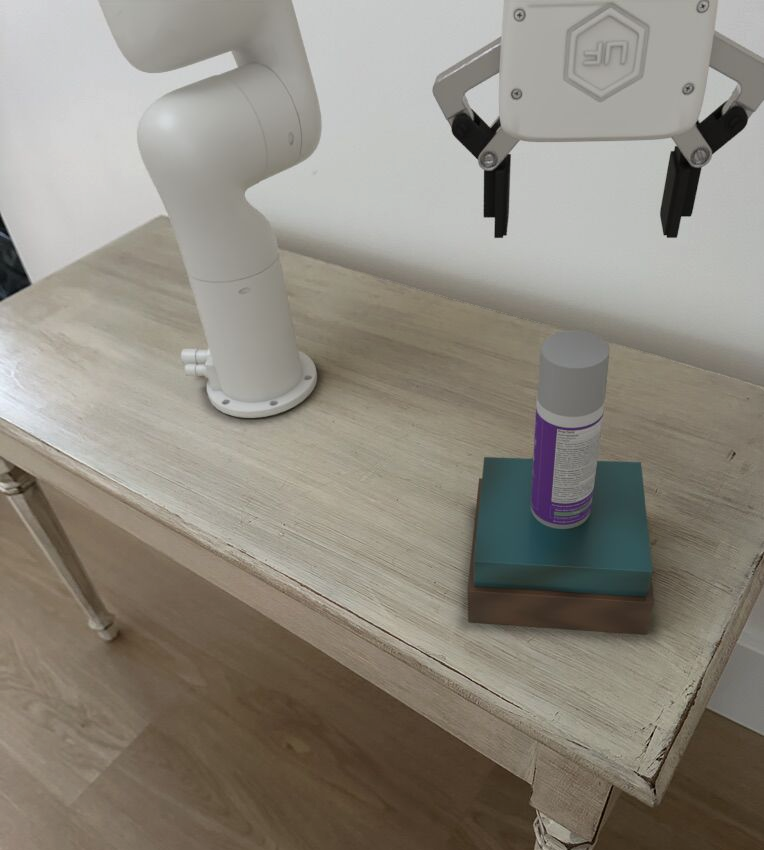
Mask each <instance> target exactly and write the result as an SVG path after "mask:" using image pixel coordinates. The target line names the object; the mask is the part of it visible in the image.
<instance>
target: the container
mask: <svg viewBox="0 0 764 850" xmlns="http://www.w3.org/2000/svg"><path fill="white" fill-rule="evenodd" d="M610 351H611V348H610V345H609V343H608V342H607V341H606V339H605V338H603V337H602V336H600V335H599V334H596V333H594V332H590V331H586V330H580V329H577V330H576V329H575V330H574V329H571V330H570V329H569V330H563V331H559V332H556V333H553V334H551V335H550V336H548V337H547V338H545V340H544V341H543V342H542V343H541V347H540V359H539V370H538V381H537V391H536V392H537V393H536V403H535V419H534V439H533V456H532V459H533V474H532V492H531V511H532V514H533V516H534V517H535V518H536V519H537V520H538V521H539V522H540V523H542V524H544V525H546V526H548V527H551V528H556V529H569V528H574V527H577V526H579V525H581V524H582V523H584V522H585V521H586V520H587V519H588V517H589V515H590V511H591V504H592V497H593V489H594V482H595V474H596V467H597V461H598V460H599V459H598V458H599V451H600V444H601V435H602V428H603V420H604V413H605V405H606V404H605V403H606V402H605V401H606V392H607V382H608V372H609V364H610V363H609V362H610V354H611V353H610Z"/></svg>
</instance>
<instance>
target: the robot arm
mask: <svg viewBox="0 0 764 850" xmlns="http://www.w3.org/2000/svg"><path fill="white" fill-rule="evenodd" d="M97 1H98V3H99V6H100V9H101V11H102V14H103V16H104V19H105V22H106V23H107V27H108V28H109V31H110V33H111V35H112V37H113V39H114V42H115V43H116V46H117V48H118V49H119V51H120V52H121V54H122V56H123V57H124V58H125V59H126V61H127V62H128V63H129V64H130V65H131V66H132V67H133V68H135V69H136V70H137V71H140V72H141V73H142V72H143V73H147V74H163V73H166V72H167V73H168V72H172V71H175V70H179V69H182V68H185V67H188V66H192V65H195V64H198V63H201V62H203V61H207V60H209V59H213V58H215V57H218V56H220V55H221V56H222V55H224V54H227V53H229V52H231V54H232V57H233V59H234V61H235V64H236V66H237V67H235V68H233V69H230V70H227V71H225V72H222V73H220V74H215V75H211V76H208V77H206V78H203V79H200V80H198V81H195V82H192V83H190V84H187V85H184V86H181V87H179V88H175V89H174V90H171V91H169V92H167V93H165V94H164V95H162V96H161V97H159V98H157V99H156V100H155V101H153V102H152V103H151V104H150V105H149V106H148V107H147V108H146V109H145V111H144V112H143V113H142V114H141V117H140V119H139V122H138V125H137V130H136V143H137V147H138V151H139V154H140V157H141V160H142V163H143V165H144V167H145V169H146V171H147V173H148V176H149V178H150V180H151V182H152V184H153V186H154V188H155V189H156V192H157V194H158V196H159V199H160V200H161V203H162V205H163V207H164V209H165V212H166V213H167V216H168V220H170V224H171V228H172V230H173V233H174V236H175V239H176V242H177V245H178V248H179V251H180V255H181V259H182V261H183V265H184V268H185V271H186V275H187V278H188V282H189V285H190V288H191V293H192V296H193V299H194V302H195V306H196V309H197V312H198V316H199V319H200V324H201V326H202V329H203V333H204V336H205V340H206V343H207V349H200V348H182V350H181V352H180V360H181V363H182V365H183V366H184V375H185V376H186V377H200V376H201V377H205V379H207V380H206V381H207V382H206V393H207V396H208V400H209V401H210V403H211V404H212V406H213V407H214V408H216V410H218V411H220V412H221V413H223V414H225V415H229V416H232V417H236V418H242V419H257V418H266V417H271V416H275V415H278V414H281V413H285V412H286V411H288V410H290V409H292V408H295V407H296V406H298V405H299V404H301V403H302V402H303V401H304V400H306V399H307V398H308V397H309V396H310V395H311V394H312V392H313V391H314V389H315V387H316V386H317V382H318V374H317V373H318V372H317V367H316V365H315V362H314V360H312V358H311V357H310V356H309V355H307V354H306V353H304V352H303V351H301V350H299V347H298V341H297V337H296V331H295V327H294V321H293V317H292V311H291V307H290V301H289V297H288V292H287V286H286V282H285V281H286V280H285V276H284V272H283V271H284V270H283V267H282V262H281V255H280V251H279V245H278V239H277V237H276V234H275V230H274V228H273V226H272V224H271V222H270V221H269V219H268V218H267V217H266V216H265V215H264V214H263V213H262V212H261V211H259V210H258V208H255V207H254V205H252V204H251V203H250V202H249V201H248V199H247V198H246V192H247V191H248V189H250V188H252V187H254V186H255V185H258V184H259V183H260V182H262V181H265V180H266V179H269V178H271V177H273V176H276V175H278V174H280V173H283V172H284V171H287V170H289V169H291V168H293V167H296V166H297V165H299V164H301V163H303V162H304V161H306V160H307V159H309V158H310V157H311V156H312V155H313V154H314V153H315V151H316V150H317V148H318V146H319V144H320V141H321V138H322V137H321V136H322V128H323V127H322V126H323V124H322V123H323V122H322V121H323V120H322V113H321V107H320V102H319V96H318V93H317V89H316V86H315V85H316V84H315V82H314V77H313V74H312V71H311V67H310V63H309V59H308V56H307V51H306V47H305V44H304V40H303V37H302V33H301V29H300V27H299V25H300V24H299V21H298V18H297V14H296V10H295V7H294V3H293V0H97ZM718 6H719V0H503V7H502V8H503V9H502V22H501V34H500V36H499V37H498V38H495V39H494V40H493V41H491V42H489V43H487V44H485V45H484V46H482V47H481V48H480V49H478V50H476V51H474V52H473V53H471V54H470V55H468V56H466V57H465V58H463V59H461V60H460V61H458V62H456V63H455V64H453V65H452V66H450V67H448V68H447V69H445V70H443V71H442V72H441V73H439V74H438V75H436V78H435V80H434V82H433V84H432V94H433V97H434V99H435V101H436V102H437V105H438V106H439V109H440V110H441V112H442V114H443V116H444V119H445V120H446V121H447V123H448V125H449V126H450V128H451V134H452V135H453V137H454V138H455V139H456V140H457V141H458V142H459V143H460V144H461V145H462V146H463V147H464V148H465V149H466V150H467V151H469V153H470V154H471V155H472V156H473V157H474V158H475V159H476V160H477V164H478V166H479V168H481V169H482V170H483V218H486V219H489V218H493V219H494V229H493V230H494V231H493V232H494V239H504V236H507V235H508V227H509V226H508V225H509V217H510V196H511V195H510V191H511V166H512V165H511V164H512V154H511V152H512V150H513V149H514V148H515V147H516V146H517V144H518V143H519V142H520V141H522V142H528V143H578V142H579V143H580V142H581V143H584V142H619V141H620V142H625V141H627V142H628V141H630V142H631V141H655V140H665V139H671V140H672V141H673V142H674V144H675V146H674V149H673V150H671V151H670V154H669V157H668V158H669V159H668V164H667V168H666V169H667V170H666V176H665V181H664V186H663V192H662V199H661V205H660V209H659V217H660V223H661V228H662V234H663V236H666V239H677V238H678V236H679V230H680V225H681V220H682V217H684V218H685V217H688V218H689V217H692V215H693V212H694V208H695V201H696V197H697V191H698V187H699V183H700V177H701V174H702V173H701V172H702V168H703V167H705V166H707V165H708V164H709V163H710V161H711V160H712V157H713V155H714V154H715V153H716V152H718V151H719V150H720V149H721V148H723V147H724V146H725V145H726V144H727V143H729V142H730V141H731V140H732V139H734V138H735V137H736V136H737V135H738V134H740V133H741V132H742V131H743V130H744V129H745V128H746V126H747V125H748V121H749V119H750V118H751V116H752V115H753V114H754V113H756V112H757V110H758V109H759V107H760V106H761V104H762V103H763V102H764V57H762V56H761V55H759V54H758V53H755V52H754V51H752V50H751V49H748V48H747V47H745V46H743V45H741V44H740V43H738V42H736V41H735V40H733V39H731V38H729V37H728V36H726V35H724V34H723V33H720V32H719V31H717V30H715V28H716V22H717V13H718ZM710 68H711V69H713V70H714V71H716V72H719V73H720V74H722V75H723V76H726V77H727V78H729V79H730V80H732V81H734V82H736V83H737V84H736V86H735V88H734V89H733V91H732V92H731V95H730V96H729V98H728V99H727V100H726V101H724V102H722V103H721V105H719V106H718V107H717V108H716V109H715V110H713V111H712V112H711V113H710V114H708V116H706V117H705V118H704V119H703V120H702V121H700V119H699V117H700V115H701V112H702V107H703V104H704V99H705V94H706V90H707V89H706V88H707V84H708V83H707V82H708V78H709V77H708V76H709V69H710ZM497 74H498V116H497V117H496V118H495V119H494V121H493V122H492V123H491V125H489V124H488V123H486V121H484V120H483V119H482V118H481V117H480V115H479V114H478V113H477V112H476V111H474V109H473V108H472V107H471V105H470V104H469V100H468V98H467V96H466V93H468V92H469V91H470V90H472V89H473V88H476V87H477V86H479V85H481V84H483V82H485V81H487V80H489V79H491V78H492V77H494V76H496V75H497Z"/></svg>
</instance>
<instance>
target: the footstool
mask: <svg viewBox="0 0 764 850" xmlns="http://www.w3.org/2000/svg"><path fill="white" fill-rule="evenodd" d="M532 474H533V458H527V457H526V458H525V457H495V456H493V457H491V456H484V458H483V466H482V475H481V478H480V477H479V478H478V484H477V495H476V503H475V514H474V522H473V532H472V542H471V551H470V561H469V569H468V570H469V571H468V578H467V579H468V581H467V588H466V589H467V590H466V594H467V595H466V597H467V600H466V601H467V622H468V623H477V624H490V625H491V624H492V625H507V626H517V627H518V626H520V627H521V626H522V627H534V628H535V627H536V628H547V629H560V630H561V629H564V630H575V631H577V630H578V631H590V632H591V631H592V632H593V631H594V632H604V633H605V632H607V633H621V634H622V633H623V634H633V635H648V630H649V627H650V622H651V618H652V614H653V610H654V605H655V597H654V587H653V578H652V577H653V561H652V551H651V543H650V534H649V525H648V514H647V506H646V505H647V503H646V497H645V496H646V495H645V487H644V477H643V468H642V462H640V461H615V460H597V467H596V474H595V482H594V489H593V497H592V504H591V511H590V515H589V517H588V519H587V520H586V521H585V522H584V523H582V524H581V525H579V526H577V527H574V528H569V529H556V528H551V527H548V526H546V525H544V524H542V523H540V522H539V521H538V520H537V519H536V518H535V517H534V516H533V514H532V511H531V492H532Z"/></svg>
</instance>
